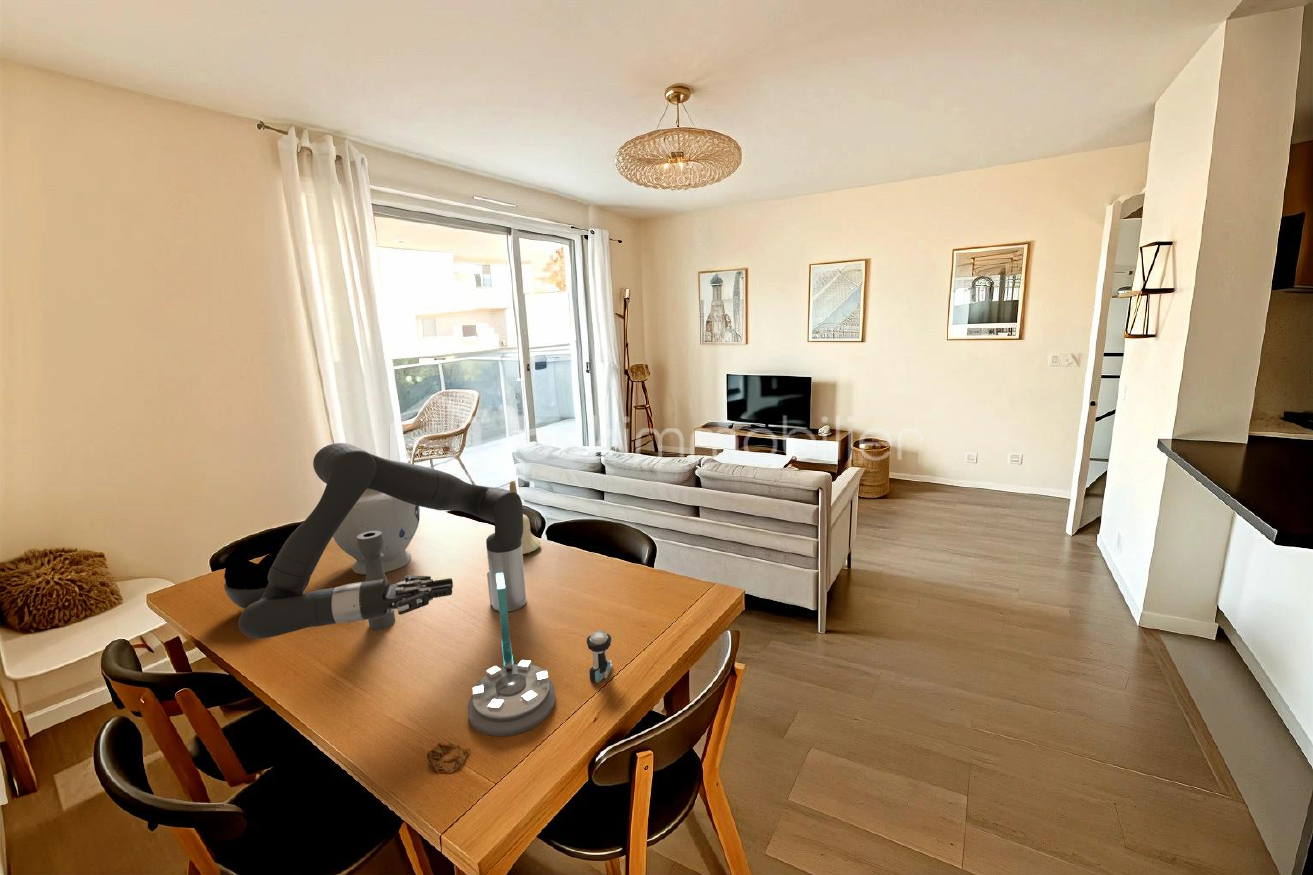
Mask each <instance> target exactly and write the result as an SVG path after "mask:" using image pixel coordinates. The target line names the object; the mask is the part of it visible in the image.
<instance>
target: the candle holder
mask: <svg viewBox="0 0 1313 875" xmlns="http://www.w3.org/2000/svg"><path fill="white" fill-rule="evenodd" d="M357 542H358V548H359V550H360V552H361V553H362V554H363V557H362V559H361V561H362V562H363V563H364V564H365V567H366V575H365V581H372V580H378V579H386V580H387V581H388V579H387V576H386V573H384V571H383V566H382V559H383V558H384V554H383V553H381V549H382V548H383V537H382V532H381V531H368V532H364V533H361V534H359V535H358V536H357ZM388 584H389V585H390V583H389V582H388ZM367 620H368V626H369V629H370V630H371V631H381V630H385V629H388V628H390V627H392V626H393V625H394V624H395V623H396V615H395V609H390V611H389V613H388V615H387V616H383V617H377V618H372V619H367Z"/></svg>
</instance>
